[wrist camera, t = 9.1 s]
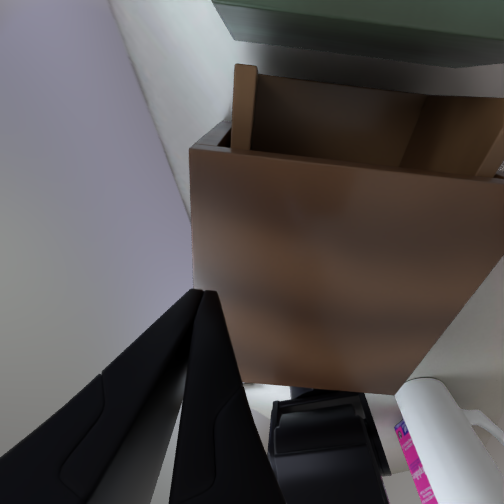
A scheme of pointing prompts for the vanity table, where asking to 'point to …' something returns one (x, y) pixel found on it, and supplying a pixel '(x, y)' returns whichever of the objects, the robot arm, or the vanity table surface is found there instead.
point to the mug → (451, 444)
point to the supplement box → (415, 465)
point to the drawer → (364, 98)
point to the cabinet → (336, 260)
